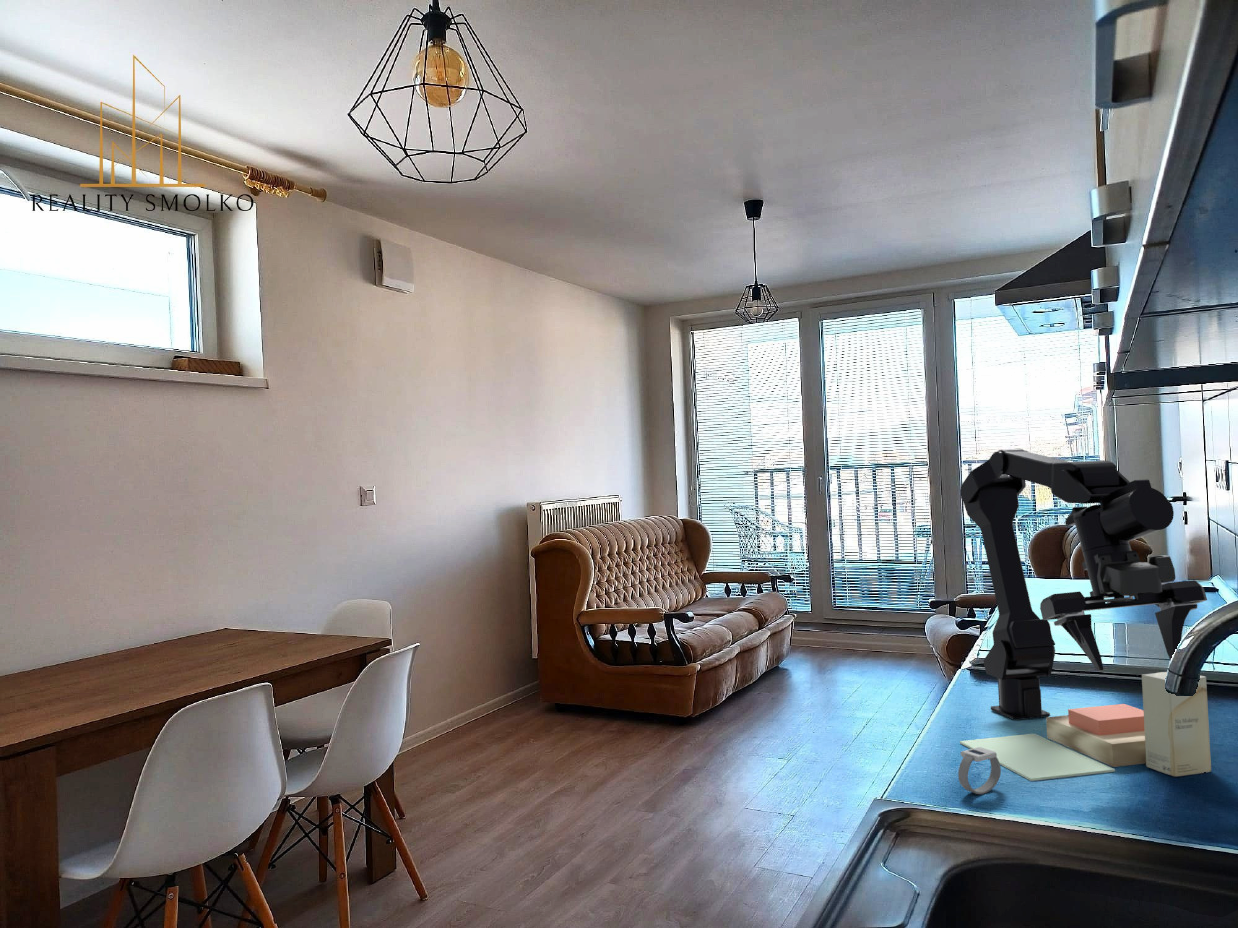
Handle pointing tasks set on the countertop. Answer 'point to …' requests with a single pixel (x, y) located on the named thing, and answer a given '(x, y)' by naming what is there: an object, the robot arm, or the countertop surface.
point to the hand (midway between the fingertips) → (1137, 666)
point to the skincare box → (1175, 728)
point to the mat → (1038, 757)
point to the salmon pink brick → (1108, 719)
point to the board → (1099, 743)
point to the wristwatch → (977, 756)
